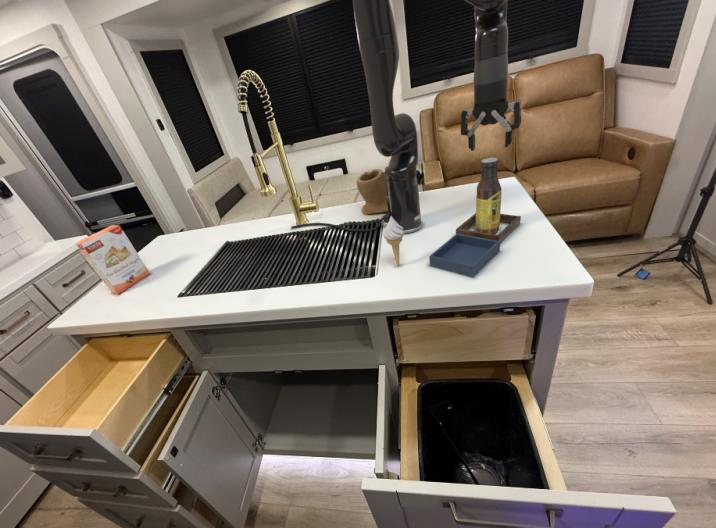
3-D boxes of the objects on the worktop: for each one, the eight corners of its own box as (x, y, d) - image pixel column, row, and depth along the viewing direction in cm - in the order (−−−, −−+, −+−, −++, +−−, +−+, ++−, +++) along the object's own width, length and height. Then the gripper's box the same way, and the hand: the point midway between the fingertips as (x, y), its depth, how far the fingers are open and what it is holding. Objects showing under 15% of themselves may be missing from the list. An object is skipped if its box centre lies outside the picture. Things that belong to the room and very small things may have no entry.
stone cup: (358, 219, 126) (349, 179, 118) (366, 206, 135) (359, 168, 126) (398, 216, 120) (392, 173, 112) (404, 202, 129) (399, 162, 120)
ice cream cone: (396, 258, 97) (388, 209, 89) (412, 262, 94) (406, 212, 85) (384, 268, 95) (375, 218, 86) (400, 273, 91) (393, 221, 82)
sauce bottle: (495, 237, 94) (498, 164, 83) (472, 235, 98) (472, 165, 87) (502, 226, 98) (506, 155, 86) (480, 224, 102) (480, 156, 90)
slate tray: (429, 266, 90) (429, 256, 89) (456, 243, 96) (456, 233, 95) (473, 277, 82) (473, 266, 80) (499, 251, 88) (500, 241, 86)
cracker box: (119, 295, 123) (81, 244, 111) (111, 292, 126) (73, 243, 114) (151, 273, 132) (119, 224, 120) (143, 272, 135) (111, 224, 123)
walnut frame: (455, 237, 99) (455, 229, 98) (478, 218, 105) (478, 210, 104) (498, 244, 91) (499, 236, 89) (520, 224, 96) (521, 216, 95)
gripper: (525, 69, 81) (521, 140, 90) (464, 82, 89) (465, 146, 98) (521, 75, 77) (516, 149, 86) (456, 88, 84) (458, 155, 93)
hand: (489, 148), depth 92 cm, fingers open, 8 cm apart
